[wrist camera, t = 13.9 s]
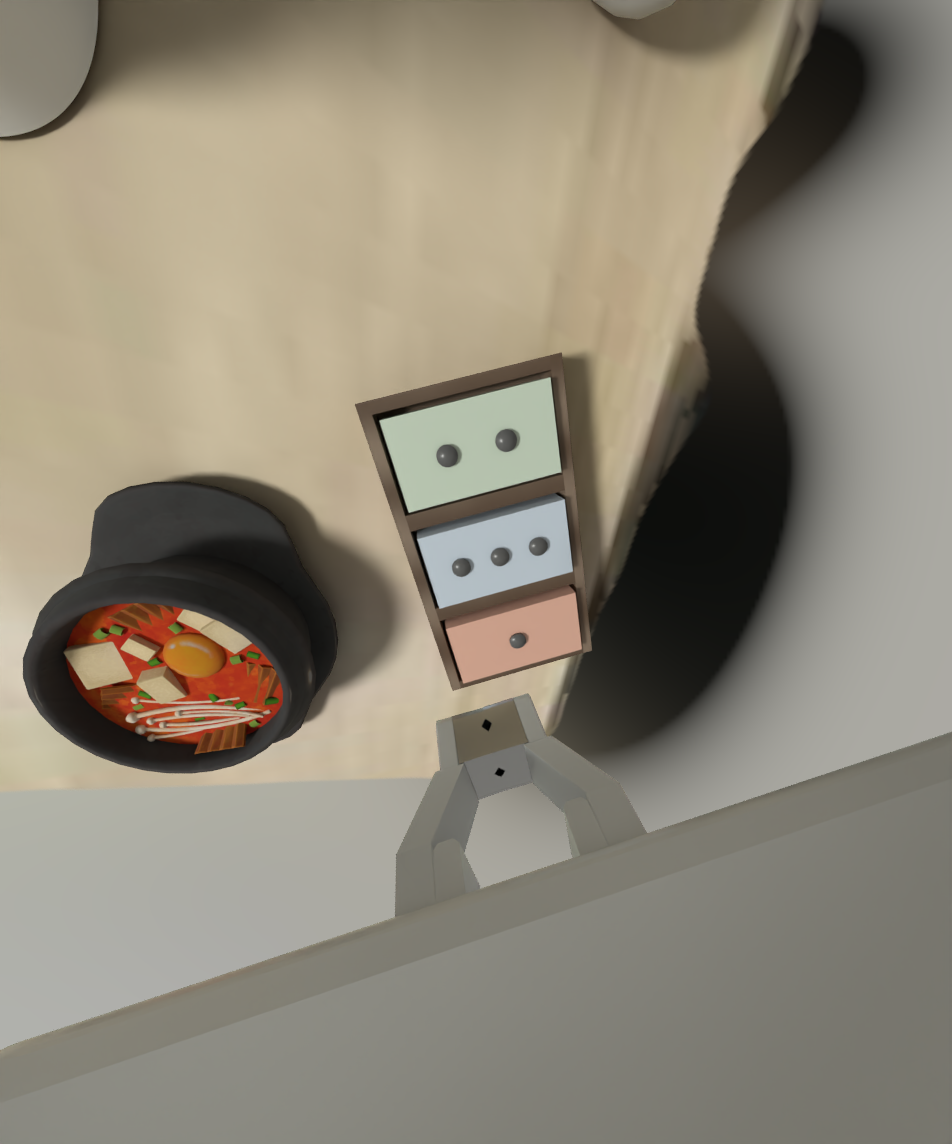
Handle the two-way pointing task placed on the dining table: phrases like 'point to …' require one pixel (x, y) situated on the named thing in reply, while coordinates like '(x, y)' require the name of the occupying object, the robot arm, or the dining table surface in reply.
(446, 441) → the counting block
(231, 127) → the dining table surface
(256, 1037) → the robot arm
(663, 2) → the donut
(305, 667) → the casserole
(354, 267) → the dining table surface
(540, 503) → the counting block
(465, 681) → the counting block
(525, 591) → the wooden counting block tray
